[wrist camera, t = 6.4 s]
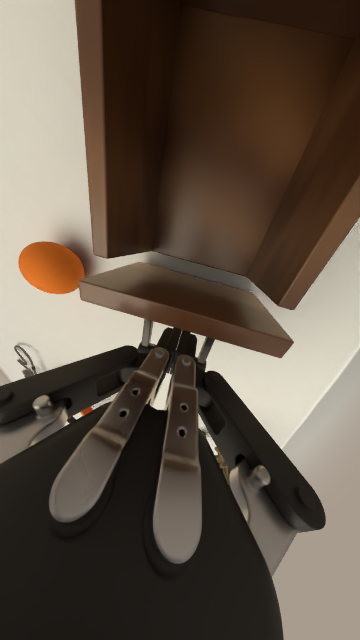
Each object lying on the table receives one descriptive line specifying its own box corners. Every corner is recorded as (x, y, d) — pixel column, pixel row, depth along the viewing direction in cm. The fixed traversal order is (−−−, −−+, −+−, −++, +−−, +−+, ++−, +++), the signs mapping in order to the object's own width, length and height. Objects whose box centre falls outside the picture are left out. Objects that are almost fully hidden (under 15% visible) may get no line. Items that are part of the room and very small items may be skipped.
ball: (59, 280, 18) (12, 293, 14) (50, 236, 16) (-10, 234, 11) (96, 291, 18) (60, 307, 14) (92, 248, 16) (48, 250, 11)
